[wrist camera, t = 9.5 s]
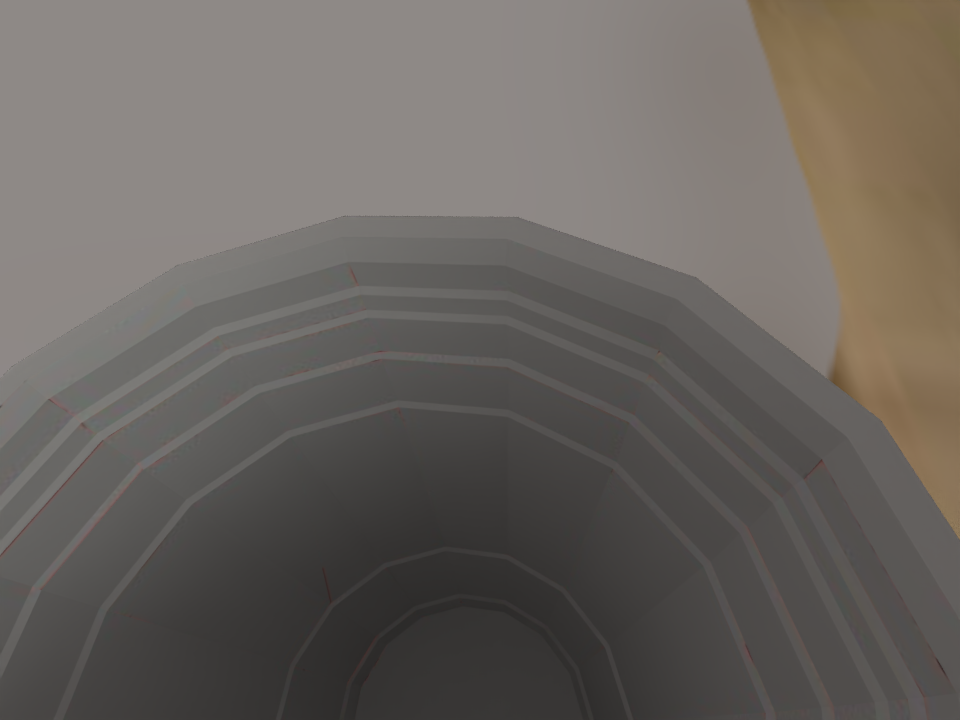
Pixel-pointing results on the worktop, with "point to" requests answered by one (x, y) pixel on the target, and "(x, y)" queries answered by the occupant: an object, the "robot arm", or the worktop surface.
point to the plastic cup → (456, 499)
